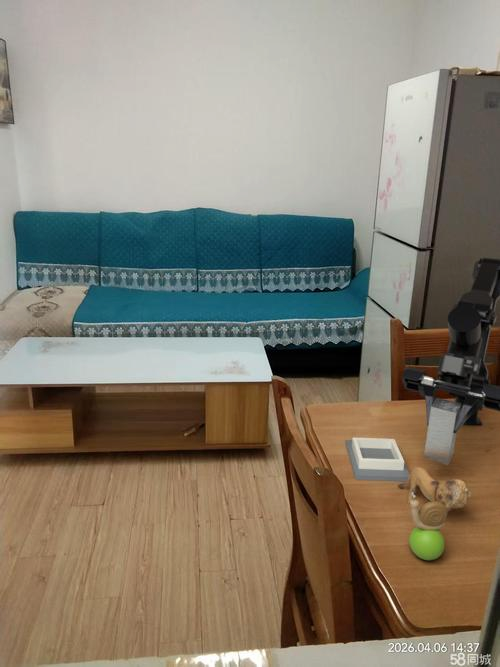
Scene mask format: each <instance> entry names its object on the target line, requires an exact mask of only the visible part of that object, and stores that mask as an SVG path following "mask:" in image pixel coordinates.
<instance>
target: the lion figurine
mask: <svg viewBox="0 0 500 667" xmlns="http://www.w3.org/2000/svg"><path fill="white" fill-rule="evenodd" d="M409 474H410V475H409V477H408V479H407V481H406V482H405V481H404V482H403V483H399V484H397V485H396V486H397V487H398V488H404V487H406V485H408V484H409V481H410V485H409V487H410V488H409V490H408V498H407V503H408V504H409V505H410V501H411V497H412V496H411V493H412V492H413V493H414V494H416V493H417V492H418V489H417V487H419V489H420V492H421V493H422V494H423V496H424V497H426V499H427V500H429V501H430V502H431V501H437V502H440V503H442V504H443V505H445V507H446V508H447V512H450V511H452V510H454V509H455V510H456V509H461V508H464V506H465V505H466V504H467V502H468V500H469V498H470V497H471V495H472V491H471V490H470V489H469V488H467V485H466V483H465V481H463V480H462V479H451V480H436V479H433V478H432V477H431V476H430V474H429V472H428V471H427V470H426V468H422V467H420V466H416V467H415V466H414V467H413V468H412V469H411V471H410V472H409ZM412 500H413V498H412Z"/></svg>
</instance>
